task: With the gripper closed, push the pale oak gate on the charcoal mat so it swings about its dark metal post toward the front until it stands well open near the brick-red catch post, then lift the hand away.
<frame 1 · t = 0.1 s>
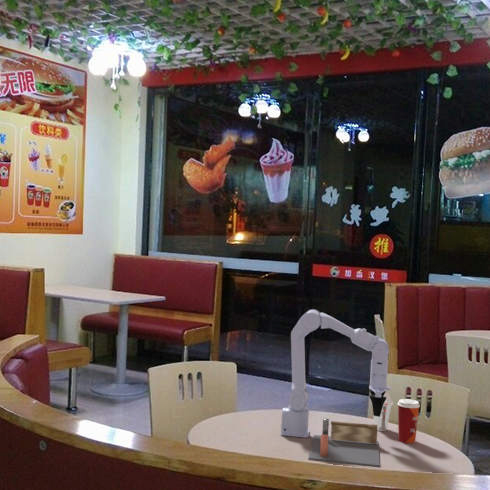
hand: (376, 413, 232), 10 cm above the table, tool pointing down, fingers open, 7 cm apart
cup with straw: (379, 429, 246), on the table
catch post: (323, 457, 214), resting on mat
gate: (353, 432, 228), point 4 cm above the table, hinge at 0.0°
mat: (344, 450, 221), on the table
hinge post: (324, 440, 230), resting on mat
paper cup: (406, 441, 234), on the table
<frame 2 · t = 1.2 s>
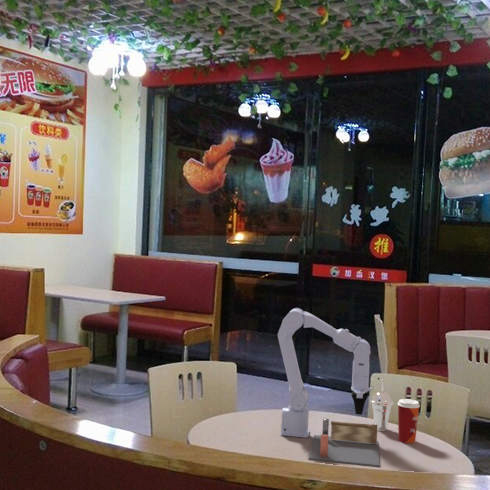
hand: (358, 413, 233), 9 cm above the table, tool pointing down, fingers closed
nothing on the table moved.
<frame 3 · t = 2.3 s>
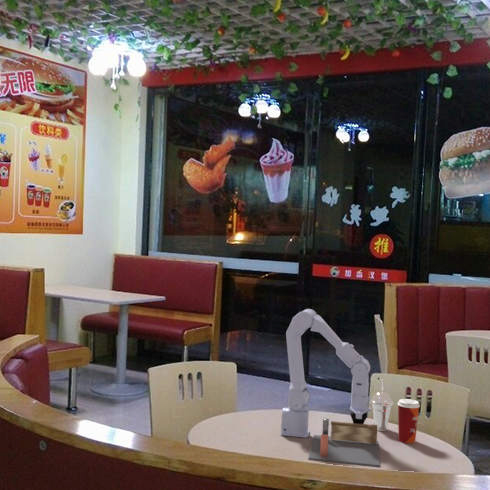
hand: (357, 433, 230), 3 cm above the table, tool pointing down, fingers closed
gate: (353, 432, 228), point 4 cm above the table, hinge at -0.5°, touching gripper
everything else where it was.
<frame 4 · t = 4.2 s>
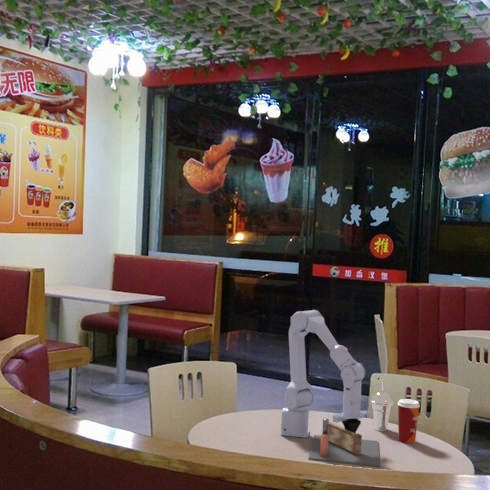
hand: (350, 441, 222), 3 cm above the table, tool pointing down, fingers closed
gate: (343, 437, 222), point 4 cm above the table, hinge at -48.4°, touching gripper
everything else where it was.
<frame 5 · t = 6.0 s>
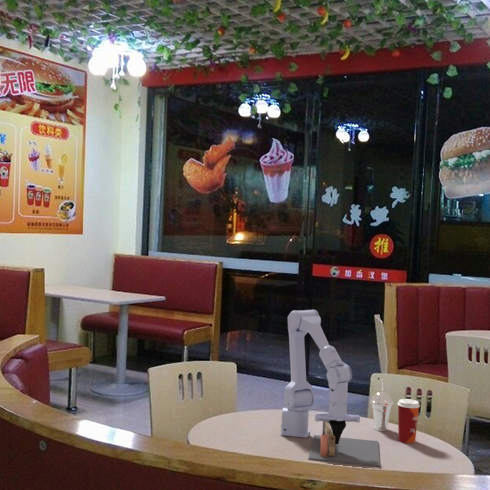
hand: (336, 443, 219), 3 cm above the table, tool pointing down, fingers closed
gate: (328, 438, 220), point 4 cm above the table, hinge at -79.9°, touching gripper
everything else where it was.
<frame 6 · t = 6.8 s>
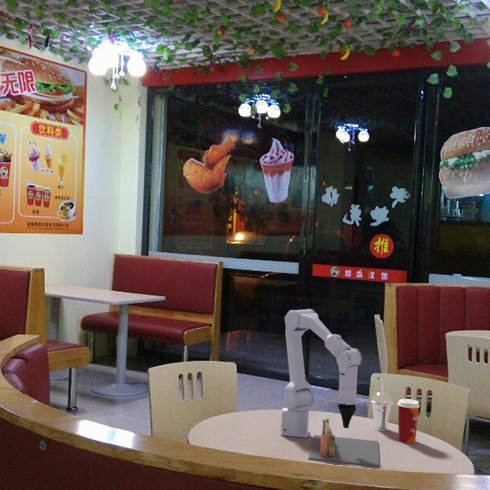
hand: (345, 427, 219), 8 cm above the table, tool pointing down, fingers closed
gate: (328, 438, 220), point 4 cm above the table, hinge at -79.9°
everything else where it was.
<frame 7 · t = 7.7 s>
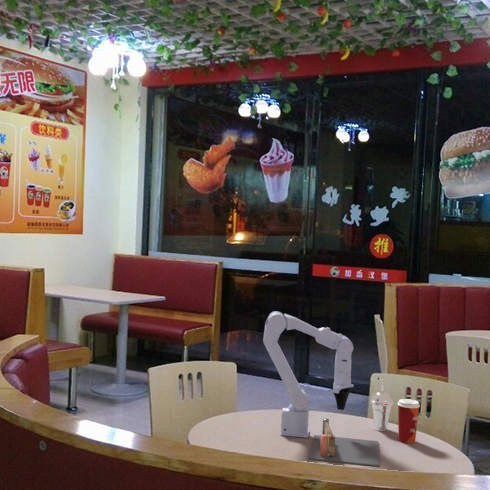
hand: (340, 409, 236), 9 cm above the table, tool pointing down, fingers closed
nothing on the table moved.
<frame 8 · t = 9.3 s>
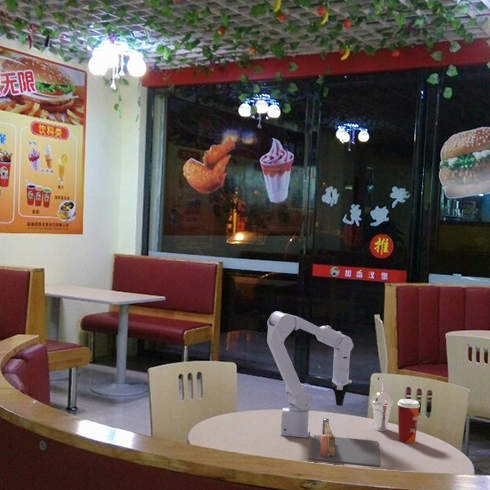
hand: (339, 405, 242), 9 cm above the table, tool pointing down, fingers closed
nothing on the table moved.
at the end: gate at -80° (first picture: +0°); paper cup moved 0.2 cm from its start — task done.
